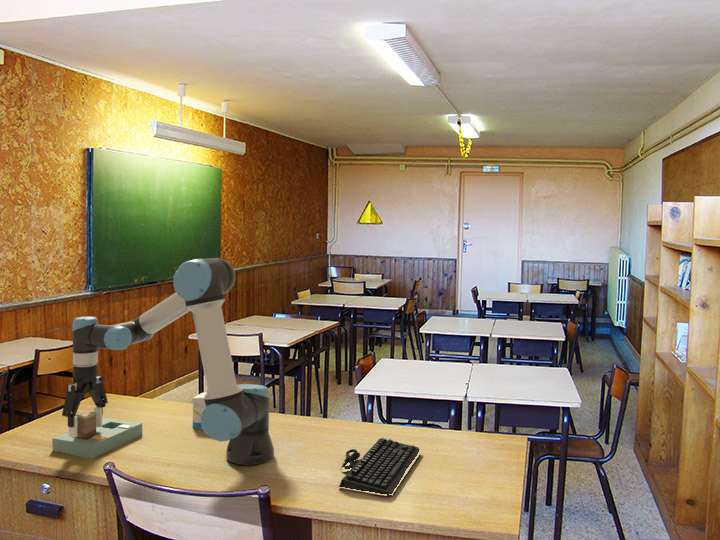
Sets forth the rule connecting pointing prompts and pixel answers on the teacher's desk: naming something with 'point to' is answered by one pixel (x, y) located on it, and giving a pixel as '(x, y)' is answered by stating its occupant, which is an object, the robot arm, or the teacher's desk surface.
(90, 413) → the plug
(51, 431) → the teacher's desk surface
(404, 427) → the teacher's desk surface
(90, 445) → the socket board
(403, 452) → the keyboard
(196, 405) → the ink box
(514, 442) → the teacher's desk surface
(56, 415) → the teacher's desk surface
